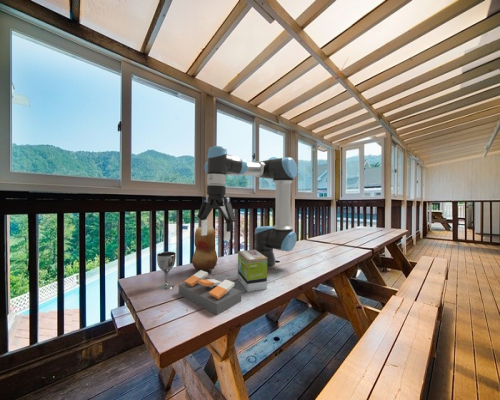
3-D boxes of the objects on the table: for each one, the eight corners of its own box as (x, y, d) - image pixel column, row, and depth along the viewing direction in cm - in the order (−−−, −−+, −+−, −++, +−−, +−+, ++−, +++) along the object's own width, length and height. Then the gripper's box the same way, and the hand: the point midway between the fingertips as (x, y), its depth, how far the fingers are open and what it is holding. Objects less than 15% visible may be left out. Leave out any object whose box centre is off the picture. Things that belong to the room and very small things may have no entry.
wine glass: (155, 291, 90) (155, 256, 90) (158, 283, 98) (158, 252, 98) (174, 289, 93) (174, 255, 92) (175, 282, 100) (176, 251, 100)
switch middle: (213, 283, 91) (214, 279, 91) (221, 287, 87) (222, 282, 88) (196, 284, 84) (197, 279, 84) (204, 288, 81) (205, 283, 81)
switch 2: (226, 283, 86) (225, 279, 85) (235, 287, 82) (234, 282, 82) (209, 296, 79) (208, 292, 78) (218, 301, 76) (217, 296, 75)
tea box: (236, 279, 105) (237, 250, 105) (255, 277, 109) (255, 248, 108) (246, 292, 91) (247, 259, 91) (267, 289, 94) (268, 257, 94)
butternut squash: (188, 275, 109) (188, 227, 109) (196, 266, 123) (197, 224, 122) (213, 276, 108) (214, 228, 108) (219, 267, 121) (220, 225, 121)
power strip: (216, 278, 105) (216, 271, 105) (254, 293, 90) (254, 284, 90) (178, 294, 88) (178, 284, 88) (216, 315, 73) (217, 304, 73)
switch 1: (201, 273, 96) (200, 269, 95) (208, 276, 92) (208, 272, 92) (185, 284, 89) (184, 280, 88) (192, 288, 86) (191, 284, 85)
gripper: (189, 185, 89) (188, 234, 89) (232, 184, 74) (231, 243, 74) (203, 186, 95) (202, 232, 95) (246, 185, 80) (244, 240, 80)
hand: (214, 237), depth 85 cm, fingers open, 13 cm apart
